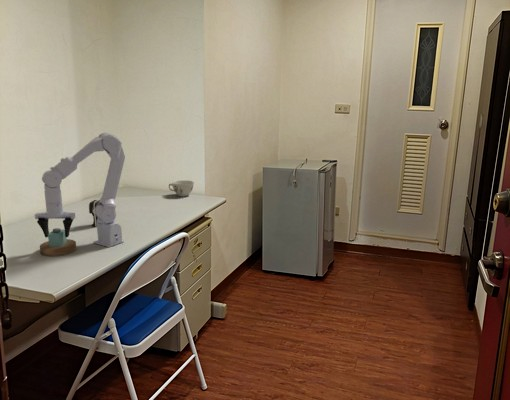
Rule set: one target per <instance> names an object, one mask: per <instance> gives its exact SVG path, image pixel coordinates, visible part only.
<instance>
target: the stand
mask: <svg viewBox="0 0 510 400" xmlns="http://www.w3.org/2000/svg"><path fill="white" fill-rule="evenodd" d="M66 239H67V242H66V243H65V244H64V245H62V246H61V247H49V240H47V241H44V242H43V243H41V244H39V251H40V255H41V256H44V255H45V257H60V256H65V255H70V254H71V253H74V252H75V251H76V250H77V242H76V241H75V240H74V239H69V238H66Z"/></svg>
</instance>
